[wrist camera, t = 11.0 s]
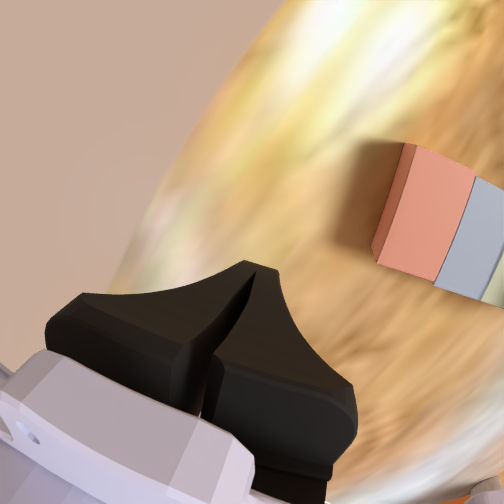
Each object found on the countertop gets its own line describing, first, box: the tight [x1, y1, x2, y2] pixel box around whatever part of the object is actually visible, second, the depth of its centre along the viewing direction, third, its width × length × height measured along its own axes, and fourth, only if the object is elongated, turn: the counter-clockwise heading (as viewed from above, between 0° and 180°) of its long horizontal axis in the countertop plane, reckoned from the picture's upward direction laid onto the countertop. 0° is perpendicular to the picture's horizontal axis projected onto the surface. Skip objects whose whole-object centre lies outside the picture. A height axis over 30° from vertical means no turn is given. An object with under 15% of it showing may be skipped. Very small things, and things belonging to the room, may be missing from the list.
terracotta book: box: [371, 143, 477, 281], centre depth 17 cm, size 7×4×3 cm, turn 167°
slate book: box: [432, 176, 504, 301], centre depth 17 cm, size 7×4×3 cm, turn 167°
